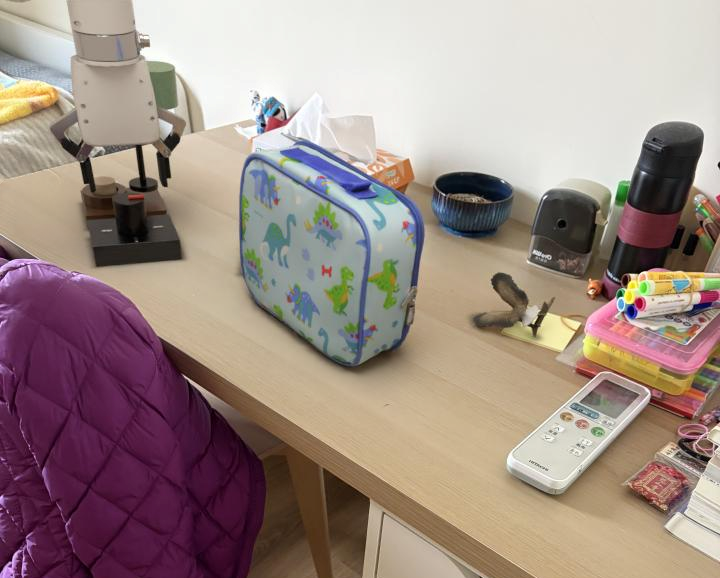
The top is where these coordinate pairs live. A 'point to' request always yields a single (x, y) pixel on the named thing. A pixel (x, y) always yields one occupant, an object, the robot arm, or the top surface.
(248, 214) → the lunch box
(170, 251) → the dimmer plate
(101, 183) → the lamp button
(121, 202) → the dimmer knob
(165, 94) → the desk lamp
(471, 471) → the top surface
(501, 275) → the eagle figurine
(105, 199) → the lamp base
